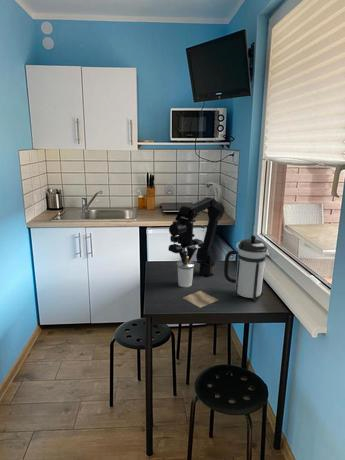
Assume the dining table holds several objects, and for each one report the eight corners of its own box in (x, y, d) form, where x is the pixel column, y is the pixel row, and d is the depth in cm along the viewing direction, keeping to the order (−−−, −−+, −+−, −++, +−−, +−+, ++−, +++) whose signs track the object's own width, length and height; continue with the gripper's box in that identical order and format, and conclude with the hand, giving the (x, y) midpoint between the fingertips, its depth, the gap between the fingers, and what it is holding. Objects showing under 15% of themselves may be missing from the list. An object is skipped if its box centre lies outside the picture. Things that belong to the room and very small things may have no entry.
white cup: (191, 289, 163) (192, 270, 160) (175, 287, 164) (176, 268, 161) (193, 282, 170) (194, 264, 167) (178, 281, 172) (179, 263, 169)
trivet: (200, 291, 160) (200, 290, 160) (218, 300, 152) (218, 299, 152) (182, 298, 153) (182, 297, 153) (200, 308, 144) (200, 307, 144)
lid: (186, 259, 170) (186, 251, 169) (198, 265, 164) (199, 256, 162) (173, 263, 164) (173, 255, 163) (185, 269, 158) (185, 260, 157)
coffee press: (255, 287, 167) (260, 229, 159) (269, 302, 151) (276, 239, 143) (222, 289, 164) (226, 230, 156) (233, 304, 148) (238, 240, 140)
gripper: (189, 225, 171) (188, 253, 176) (161, 231, 160) (161, 261, 164) (205, 230, 163) (203, 259, 167) (176, 236, 151) (175, 268, 156)
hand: (185, 262), depth 164 cm, fingers closed on lid, 3 cm apart
